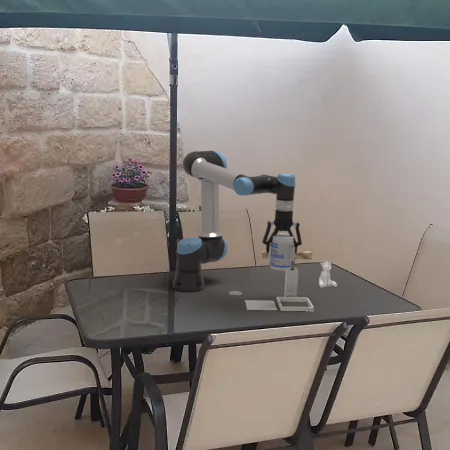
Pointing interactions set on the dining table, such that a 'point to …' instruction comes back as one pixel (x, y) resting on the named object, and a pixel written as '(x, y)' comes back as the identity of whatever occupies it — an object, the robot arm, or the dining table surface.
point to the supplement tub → (281, 252)
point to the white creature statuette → (326, 276)
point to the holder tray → (295, 299)
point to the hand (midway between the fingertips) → (280, 260)
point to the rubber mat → (260, 305)
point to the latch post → (291, 283)
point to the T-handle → (296, 256)
